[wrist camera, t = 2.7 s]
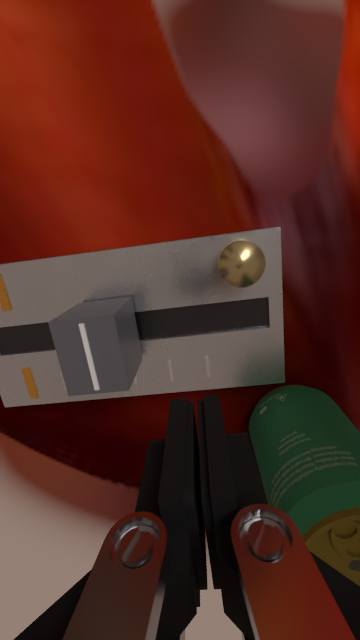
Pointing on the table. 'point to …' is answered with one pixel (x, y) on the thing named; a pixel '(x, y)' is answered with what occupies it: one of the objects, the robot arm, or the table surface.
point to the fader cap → (97, 346)
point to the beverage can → (312, 470)
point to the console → (152, 314)
